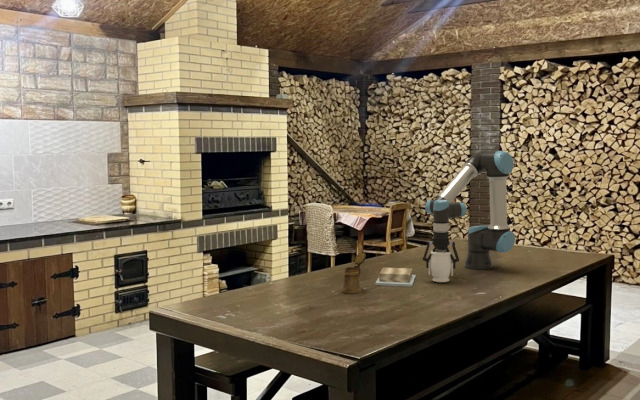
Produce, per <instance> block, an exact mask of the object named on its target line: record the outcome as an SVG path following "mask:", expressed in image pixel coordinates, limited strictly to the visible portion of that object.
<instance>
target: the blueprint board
mask: <svg viewBox="0 0 640 400" xmlns="http://www.w3.org/2000/svg"><path fill="white" fill-rule="evenodd" d="M416 277H417V275H416V274H412V278H411V280H410V283H406V282H382V281H379V277H378V278H377V280H376V281H375V284H374V285H375V286H384V287H385V286H386V287H387V286H389V287H408V288H412V287H413V285H414V284H415V283H414V282H415V280H416Z"/></svg>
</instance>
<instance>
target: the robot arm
mask: <svg viewBox="0 0 640 400" xmlns="http://www.w3.org/2000/svg"><path fill="white" fill-rule="evenodd" d="M514 164H515V163H514V158H513V156H512V155H511V154H510V153H509V152H507V151H503V150H482V151H478V152H476V153H475V154H473V155H471V156H470V157H469V158H467V160H466V161H465V162H464V163H463V164H462V168H461V169H460V171H458V173H456V175H455V176H454V177H453V178H452V179H451V181H449V182H448V184H447V185H446V186H445V187H444V188H443V189H442V191H441V192H440V193H439V194H438V195H437V196H436V197H435V198H434V199H431V200H430V199H429V200H427V201H426V202H425V205H424V208H425V212H426V213H427V214H428V215H432V216H433V223H432V227H433V228H432V229H433V232H432V233H433V234H432V235H433V236H432V237H433V238H432V241H429V240H428V241H426V247H425V251H424V254H423V257H422V261H424V262H425V264H426V265H425V266H426V267H425V268H426V269H428V276H431V267H430V258H431V255H432V254H431V253H430V254H429V255H428V252H429V250H430V247H431V246H433V249H432V251H433V252H435V251H436V250H446V252H450V251H451V250H450V249H449V245H450V247H452V250H453V251H452V252H453V253H454V255H453V254H452V253H451V254H450V257H451V260H452V263H451V272H450V276H451V277H453V276H454V270H456V265H457V264H456V263H457V262H460V258H459V255H458V251H457V249H456V241H450V240H449V238H450V237H449V235H450V233H449V228H450V227H449V226H450V222H449V221H450V219H454V218H461V217H464V216H465V215H466V214H467V210H468V209H467V208H468V207H467V205H466V204H465V202H462V201H461V202H460V201H457V202H453V201H454V200H455V199H456V197H458V195H459V194H460V193H461V192H462V191H463V190H464V188H465V187H466V186H467V185H468V184H469V182H471V181H472V179H474V178H476V177H477V176H478V175H479V174H483V173H486V175H485V176H486V178H487V179H488V180H489V181H488V182H489V215H490V217H489V219H490V220H489V222H490V224H487V225H485V224H484V225H473V226H470V227H469V228H468V232H467V254H466V257H465V261H464V267H465V268H467V269H470V270H491V269H492V268H493V261H492V257H491V255H490V253H491V252H492V251H493V252H497V253H509V252H510V251H511V250H512V248H514V246H515V242H516V236H515V234H514V232H512V231H511V226H510V225H509V224H508V217H507V216H508V214H507V213H508V211H507V210H508V209H507V208H508V207H507V206H508V205H507V179H508V178H509V177H510V173H512V172H513V169H514V166H515V165H514ZM449 250H450V251H449ZM490 251H491V252H490ZM427 255H428V256H427ZM490 268H491V269H490Z"/></svg>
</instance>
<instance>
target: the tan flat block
mask: <svg viewBox="0 0 640 400" xmlns="http://www.w3.org/2000/svg"><path fill="white" fill-rule="evenodd" d="M412 275H413V268H407V267H403V268H402V267H400V268H399V267H382V269H381V270H380V271H379V276H378V278H379V281H382V282H406V283H410V280H411V278H412Z"/></svg>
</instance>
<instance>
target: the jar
mask: <svg viewBox="0 0 640 400" xmlns="http://www.w3.org/2000/svg"><path fill="white" fill-rule="evenodd" d="M432 250H433V249H432ZM432 250H430V252H429V253H430V254H432V255H431V258H430V260H429V261H430V274H431V276H432V278H431V280H432V281H433V282H436V283H446V282H447V283H448V282H449V281H450V278H449V277H450V276H451V263H452V262H453V261H452V260H451V257H450V254H452V253H453V251H452V250H450V249H449V251H450V252H446V250H437V249H436V251H435V252H433V251H432Z"/></svg>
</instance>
